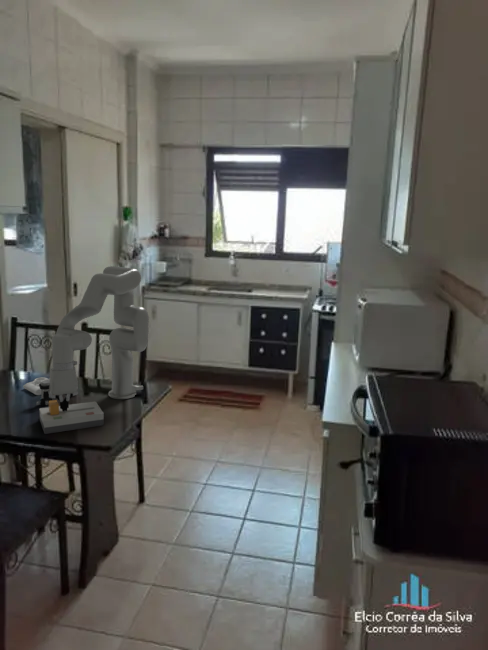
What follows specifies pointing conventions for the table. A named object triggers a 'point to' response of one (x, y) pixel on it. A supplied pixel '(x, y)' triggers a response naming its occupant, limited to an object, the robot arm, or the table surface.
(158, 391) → the table surface
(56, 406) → the lever
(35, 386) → the knuckle duster
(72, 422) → the switch panel
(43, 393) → the push button
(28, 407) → the table surface
